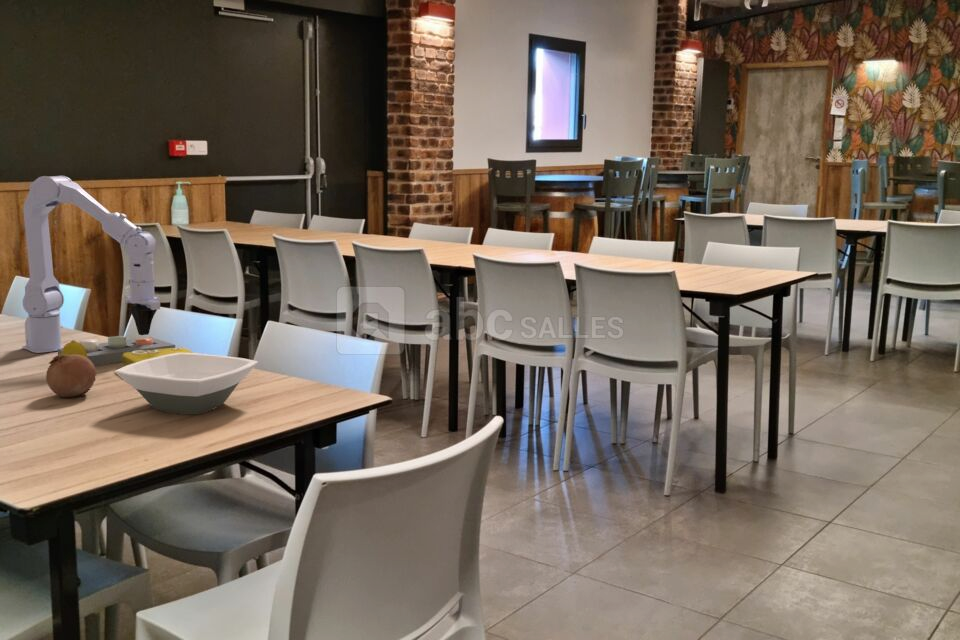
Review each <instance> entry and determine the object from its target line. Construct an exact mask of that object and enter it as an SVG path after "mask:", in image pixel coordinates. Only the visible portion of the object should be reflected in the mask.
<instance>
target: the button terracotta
mask: <svg viewBox="0 0 960 640" xmlns="http://www.w3.org/2000/svg"><path fill="white" fill-rule="evenodd" d="M152 338H153V337H152ZM152 338H149V337H139V338H134V339H135V344H136V345H138V346H144V345H152V344H153V339H152Z"/></svg>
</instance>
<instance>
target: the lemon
mask: <svg viewBox="0 0 960 640" xmlns="http://www.w3.org/2000/svg"><path fill="white" fill-rule="evenodd" d="M63 346H64V347H63V349H62V352H61V355H62V354H66V355H82V356H85V357H87V352H86V349H85V347H84V346H83V345H82V344H80V342H78V341H76V340H71V341H70V342H68V343H66V344H65V345H63Z"/></svg>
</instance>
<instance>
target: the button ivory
mask: <svg viewBox="0 0 960 640" xmlns="http://www.w3.org/2000/svg"><path fill="white" fill-rule="evenodd" d="M79 343H80V344H82V345H83V346H84V347H85V349H86V352H87V353H89V352H97V351H99V345H98V344H99V340H98V339H95V338H94V339H93V338H92V339H91V338H89V339H81V340H79Z"/></svg>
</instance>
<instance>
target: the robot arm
mask: <svg viewBox="0 0 960 640" xmlns="http://www.w3.org/2000/svg"><path fill="white" fill-rule="evenodd" d="M28 188H29V191H28V195H26V196H27V197H26V199H25V200H24V204H23V209H22V210H23V219H24V228H25V229H24V230H25V239H26V249H27V250H26V251H27V261H28V262H27V263H28V269H29V271H28V272H29V279H28V281H27V283H26V284H25V286H24V296H23V298H22V306H23V310H24V311H25V312H26V313H27V315H28V316H27V318H26V319H25V322H24V334H25V335H24V336H25V345H22V346H21V347H22V349H25V350H27V351H30V352H32V353H34V354H42V353H51V352H58V349H59V348H63V347H64V346H65V345H62V328H61V312H60V309H61V308H62V307H63V305H64V303H65V295H64V294H63V292H62V290H61V288H60V282H59V281H58V280H57V278H56V277H55V276H54V267H53V265H54V264H53V257H52V255H53V254H52V246H51V245H52V244H51V236H50V234H51V233H50V225H49V213H50V212H51V211H53V210H54V209H55V208H56V207H57V206H58V205H60V204H71V205H75V206H76V207H78V208H79V209H80V210H82V211H84V212H85V213H87V214H88V215H90V216H91V217H93V218H94V219H95V220H97V221H98V222H100V223H101V228H102V231H103V232H104V233H106V234H107V235H109V236H110V237H111V238H112V239H114V240H116V242H118V243H119V244H120V245H122V246H123V248H124V250H125V252H126V253H127V255H128V256H129V257H128V258H129V259H128V260H129V266H128V267H129V290H130V291H129V293H130V294H127V295H125V303H127V304H133V306H129V307H128V310H129V313H130V315H132V318H133V319H134V322H135V326H136V330H137V333H138V335H139V336H147V335H150V334H149V333H150V331H151V326H152V322H153V319H154V317H155V314H156V313H157V311H158V310H161V302H160V297H158V296H156V295H155V272H154V271H155V266H154V263H155V261H154V252H155V250H156V249H157V240H156V237H155V236H154V235H152V233H151V232H149V231H142V230H143V228H142V227H141V226H136V224H134V223H133V222H131V221H130V220H129V219H128V216H127V215H126V214H125V213H119V212H116V211H115V212H110V211H109V210H108V209H107V208H106V207H105V206H103V205H102V204H101V203H100V202H99V201H97V200H96V199H95V198H94V197H93V196H91V195H90V194H89V193H88V192H87V191H86V190H84V189H83V188H82V187H81V186H80V184H78V183H77V182H75V181H72V179H71V178H69V177H68V176H65V175H55V176H54V175H53V176H47V175H43V176H39V177H38V178H36V179H34V181H32V182H31V183H30V184H29V187H28Z"/></svg>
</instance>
